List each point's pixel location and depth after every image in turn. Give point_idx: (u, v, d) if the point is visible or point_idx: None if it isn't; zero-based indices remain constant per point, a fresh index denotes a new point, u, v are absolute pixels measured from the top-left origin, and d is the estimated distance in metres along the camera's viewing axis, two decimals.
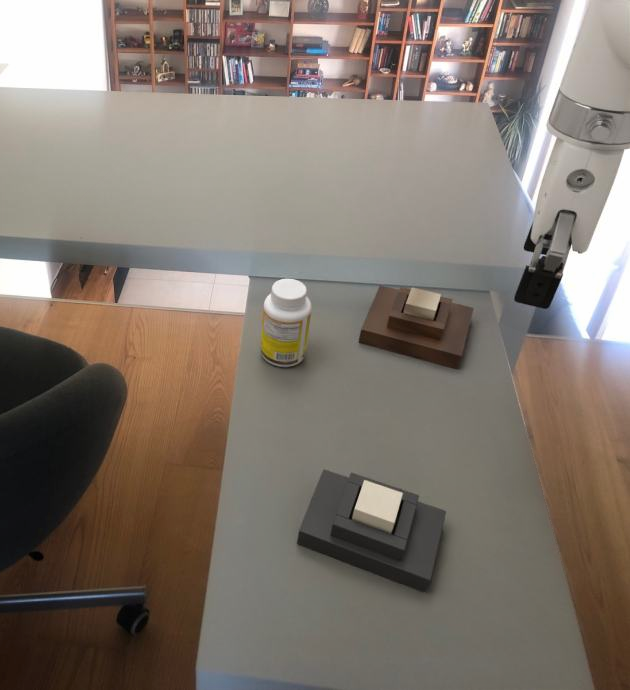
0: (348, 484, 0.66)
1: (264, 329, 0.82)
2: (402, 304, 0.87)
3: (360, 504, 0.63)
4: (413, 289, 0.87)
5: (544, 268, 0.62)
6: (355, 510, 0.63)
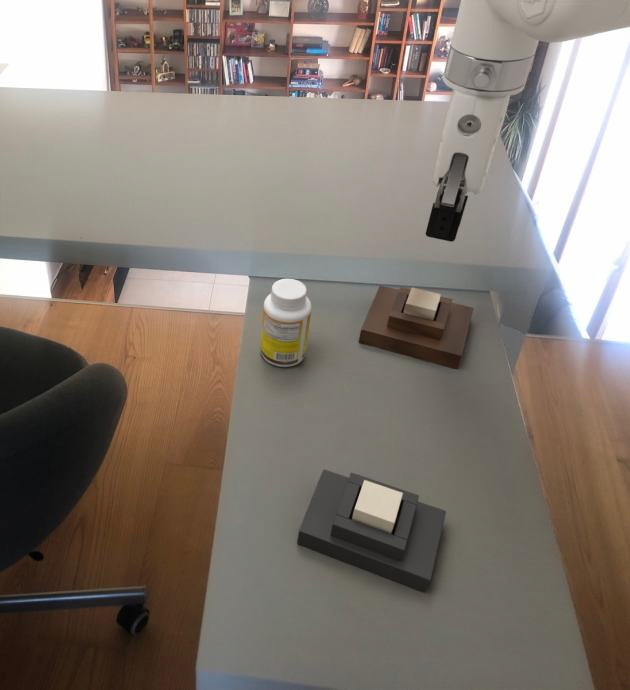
0: (348, 484, 0.66)
1: (264, 329, 0.82)
2: (402, 304, 0.87)
3: (360, 504, 0.63)
4: (413, 289, 0.87)
5: None
6: (355, 510, 0.63)
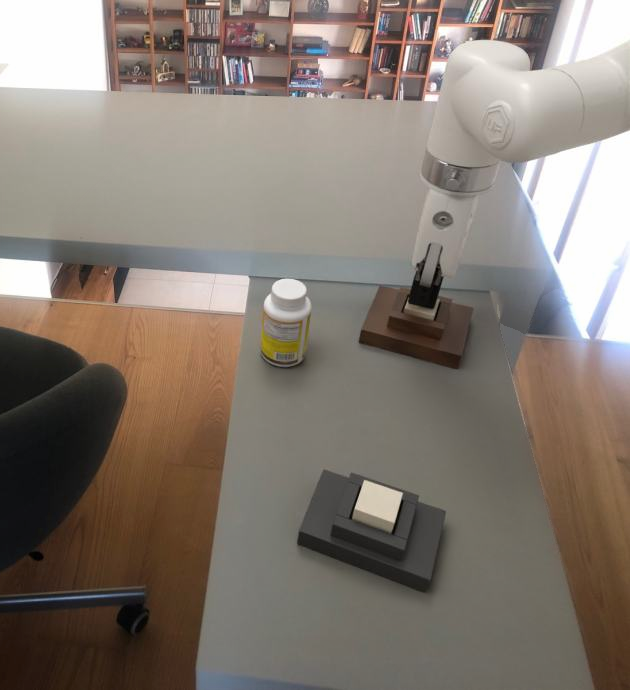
0: (348, 484, 0.66)
1: (264, 329, 0.82)
2: (402, 304, 0.87)
3: (360, 504, 0.63)
4: None
5: None
6: (355, 510, 0.63)
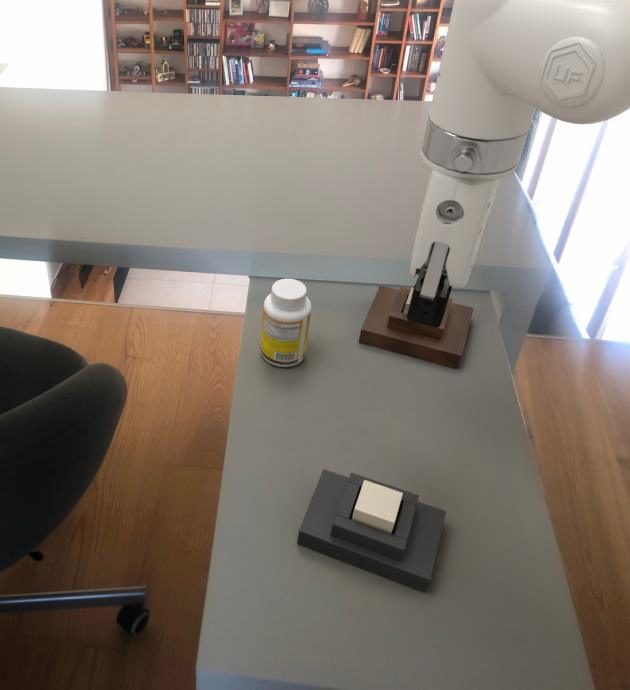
0: (348, 484, 0.66)
1: (264, 329, 0.82)
2: (402, 304, 0.87)
3: (360, 504, 0.63)
4: None
5: None
6: (355, 510, 0.63)
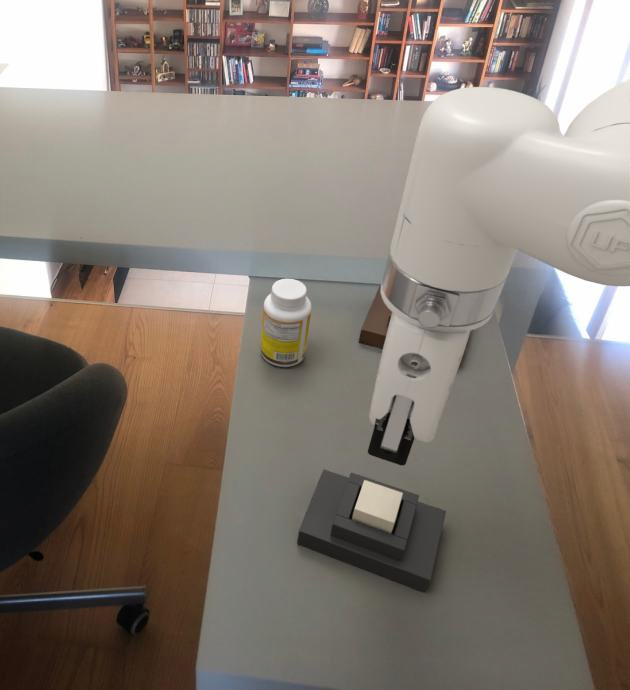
0: (348, 484, 0.66)
1: (264, 329, 0.82)
2: None
3: (360, 504, 0.63)
4: None
5: None
6: (355, 510, 0.63)
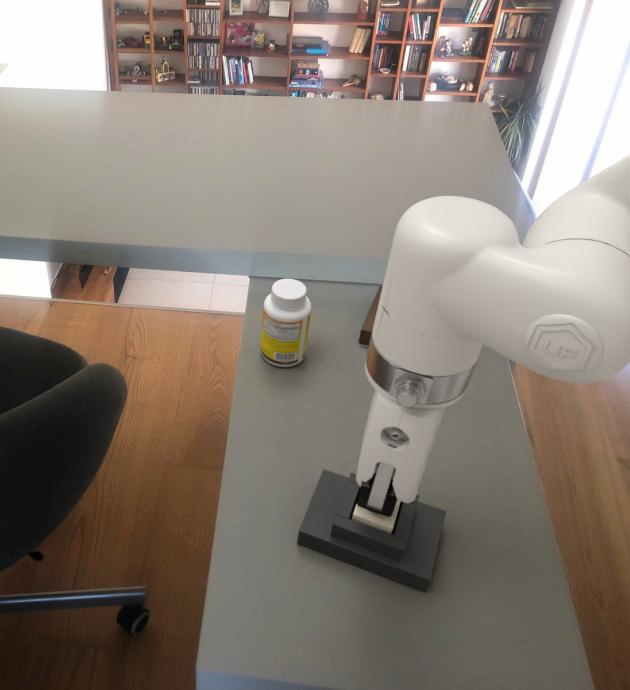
0: (348, 484, 0.66)
1: (264, 329, 0.82)
2: None
3: (359, 509, 0.63)
4: None
5: None
6: (354, 515, 0.63)
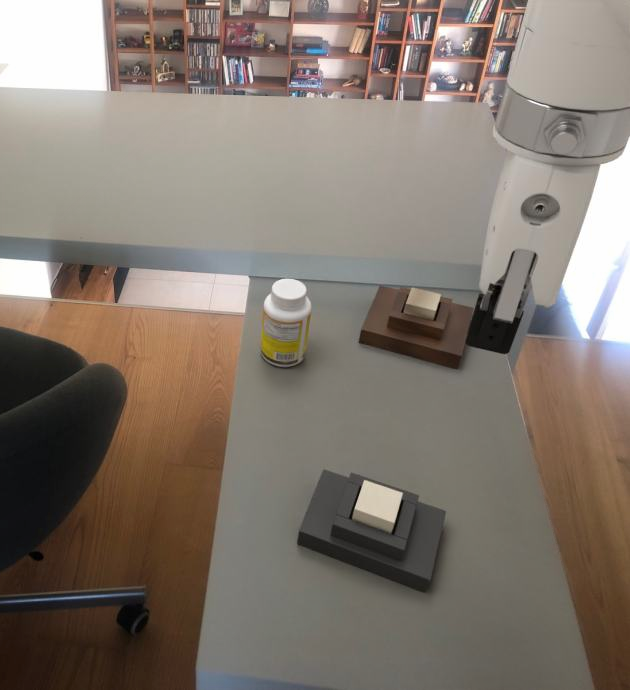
0: (348, 484, 0.66)
1: (264, 329, 0.82)
2: (402, 304, 0.87)
3: (360, 504, 0.63)
4: (413, 289, 0.87)
5: None
6: (355, 510, 0.63)
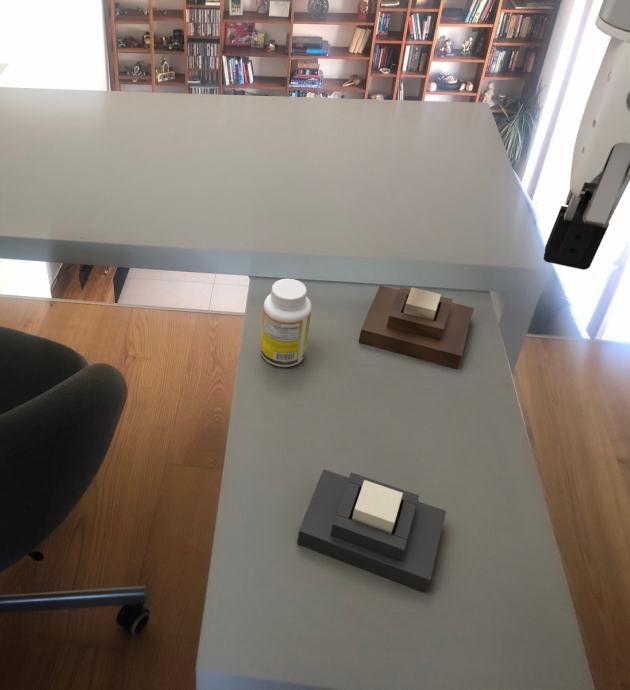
0: (348, 484, 0.66)
1: (264, 329, 0.82)
2: (402, 304, 0.87)
3: (360, 504, 0.63)
4: (413, 289, 0.87)
5: None
6: (355, 510, 0.63)
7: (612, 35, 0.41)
